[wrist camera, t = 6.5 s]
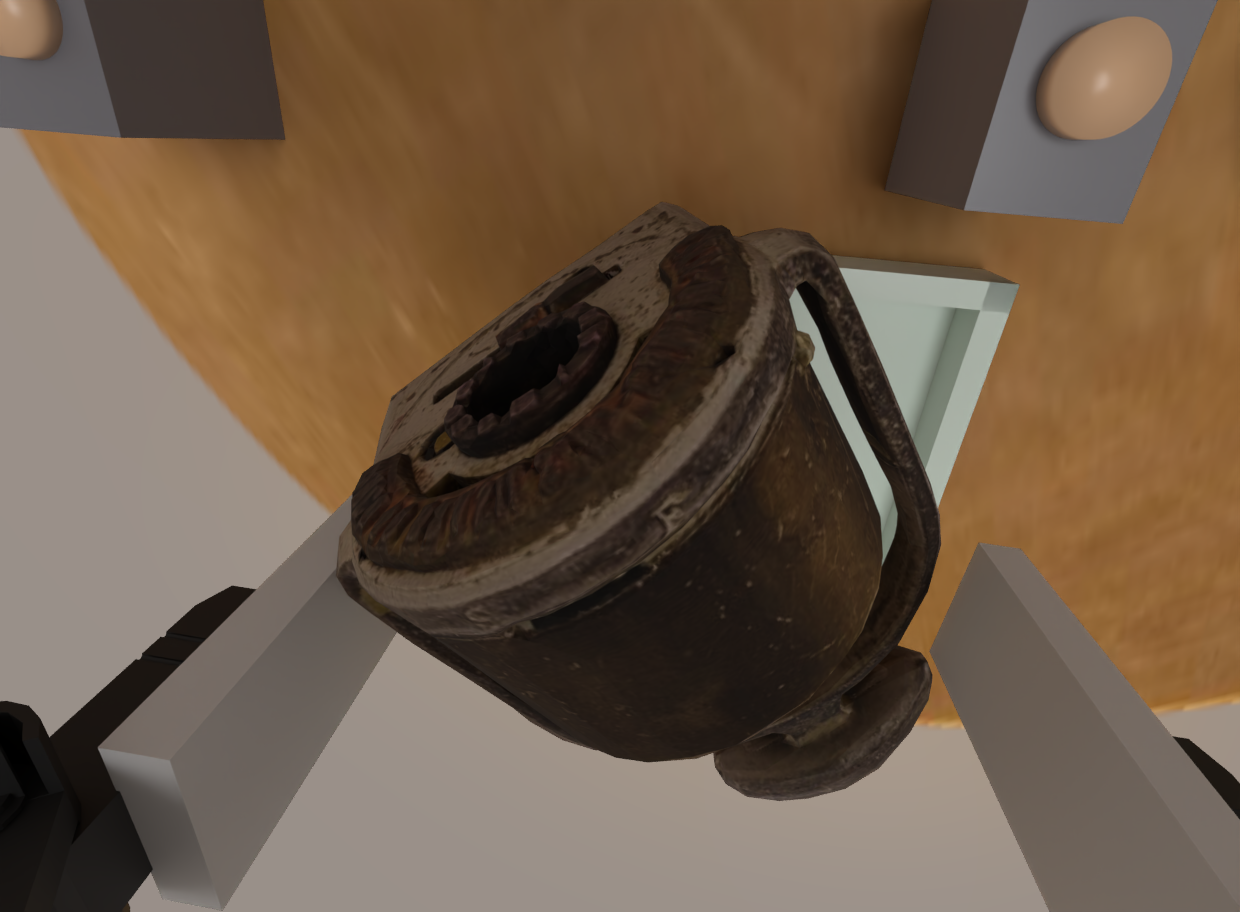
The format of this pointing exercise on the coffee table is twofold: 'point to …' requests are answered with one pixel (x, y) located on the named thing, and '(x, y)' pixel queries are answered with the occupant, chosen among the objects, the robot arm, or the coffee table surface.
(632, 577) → the brown alarm clock
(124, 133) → the far-side block
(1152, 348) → the coffee table surface
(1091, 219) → the block
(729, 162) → the coffee table surface
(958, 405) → the sage tray
